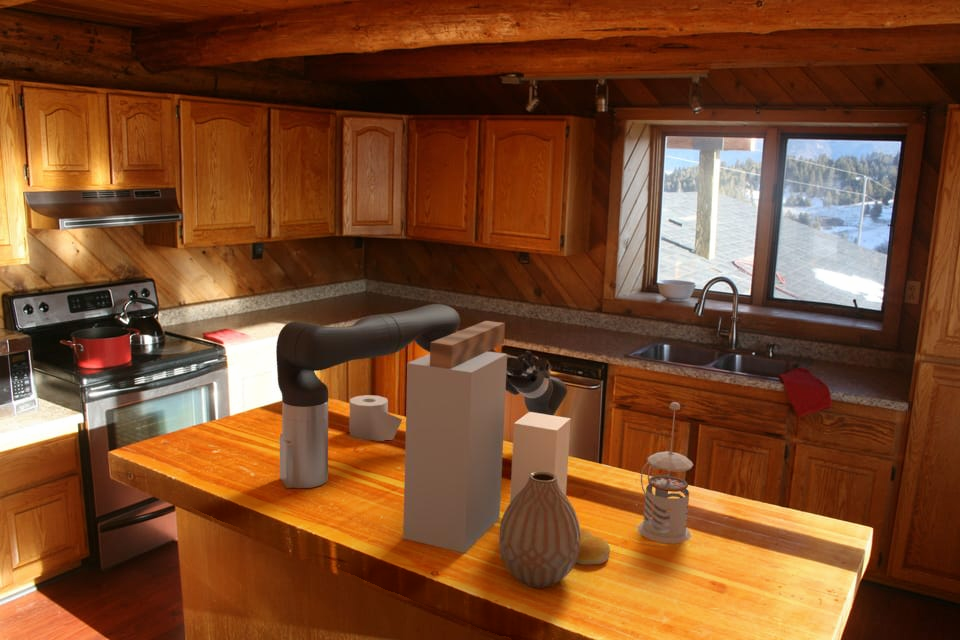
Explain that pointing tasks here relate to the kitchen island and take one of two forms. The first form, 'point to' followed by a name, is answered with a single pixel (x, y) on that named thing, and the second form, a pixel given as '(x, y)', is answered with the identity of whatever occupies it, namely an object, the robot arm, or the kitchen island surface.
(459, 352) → the walnut bar
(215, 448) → the kitchen island surface
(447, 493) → the tall white pillar
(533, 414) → the post
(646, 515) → the french press
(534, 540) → the vase
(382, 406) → the toilet tissue
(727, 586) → the kitchen island surface
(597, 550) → the bread roll
